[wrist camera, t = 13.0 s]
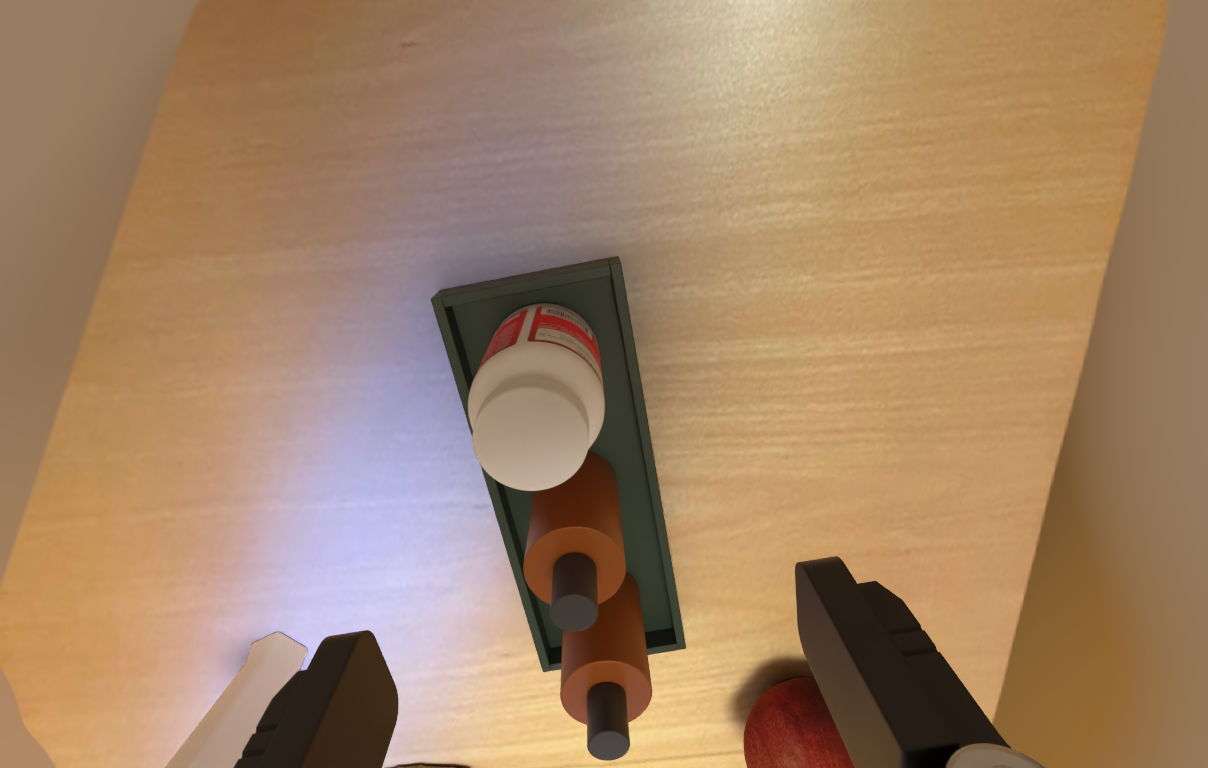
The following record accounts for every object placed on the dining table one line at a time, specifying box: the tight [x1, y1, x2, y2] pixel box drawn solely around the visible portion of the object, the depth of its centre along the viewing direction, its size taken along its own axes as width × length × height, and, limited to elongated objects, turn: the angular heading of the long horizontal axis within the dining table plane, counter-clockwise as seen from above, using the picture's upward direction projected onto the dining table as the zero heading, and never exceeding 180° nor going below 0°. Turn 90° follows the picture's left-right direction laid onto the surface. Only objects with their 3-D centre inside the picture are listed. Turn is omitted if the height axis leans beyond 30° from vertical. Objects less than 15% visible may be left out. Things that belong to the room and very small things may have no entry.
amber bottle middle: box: [523, 451, 626, 632], centre depth 31 cm, size 5×5×11 cm
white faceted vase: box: [165, 632, 307, 768], centre depth 35 cm, size 5×4×15 cm
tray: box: [431, 256, 686, 672], centre depth 36 cm, size 10×27×2 cm, turn 10°
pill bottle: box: [468, 303, 605, 491], centre depth 28 cm, size 6×6×11 cm
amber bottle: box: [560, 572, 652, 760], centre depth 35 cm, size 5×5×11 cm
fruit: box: [744, 677, 855, 768], centre depth 40 cm, size 11×10×10 cm
